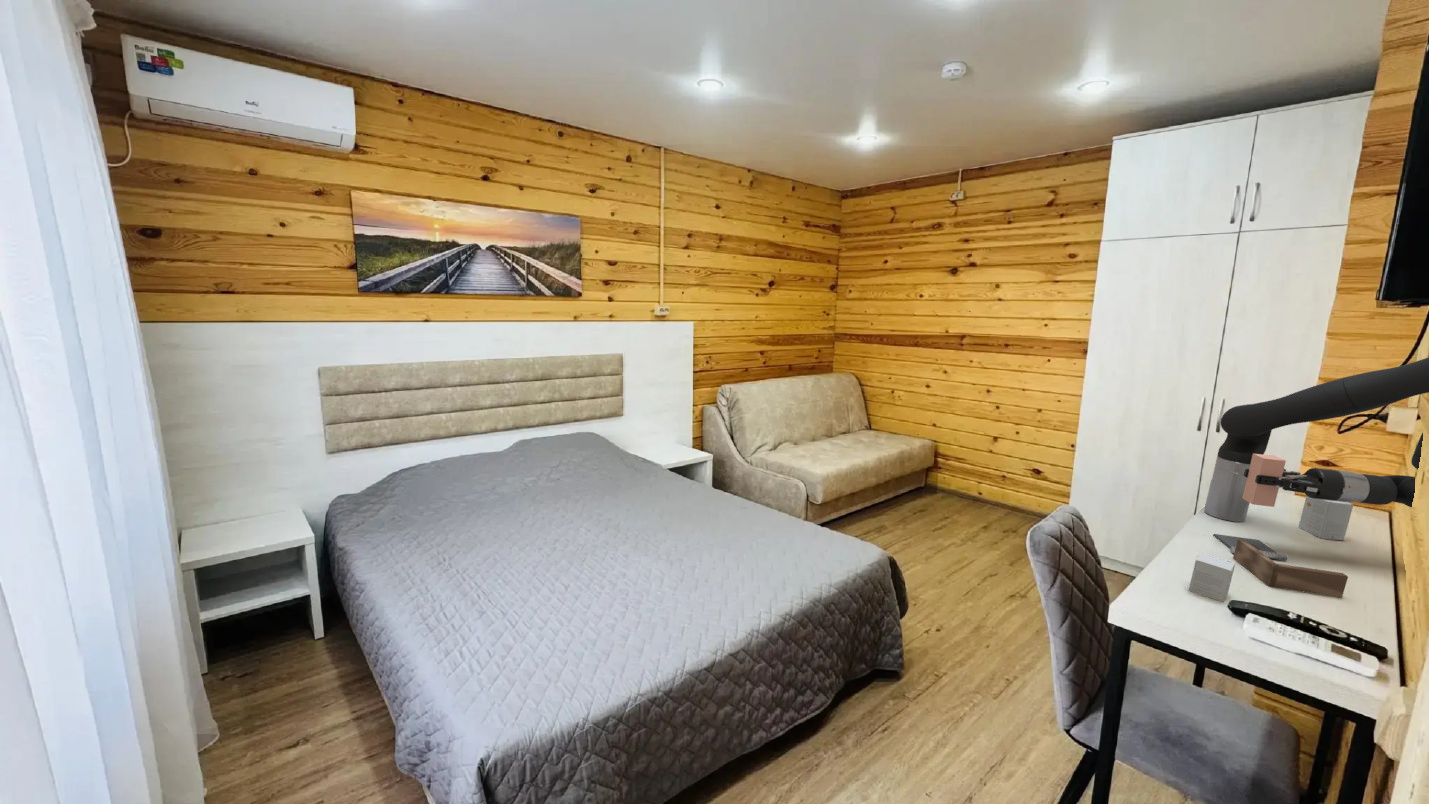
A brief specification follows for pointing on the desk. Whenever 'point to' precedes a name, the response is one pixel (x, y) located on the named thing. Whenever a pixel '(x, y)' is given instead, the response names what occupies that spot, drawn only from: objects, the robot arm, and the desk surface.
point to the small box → (1326, 518)
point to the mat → (1232, 541)
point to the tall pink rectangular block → (1260, 492)
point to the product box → (1212, 576)
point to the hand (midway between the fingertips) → (1251, 476)
